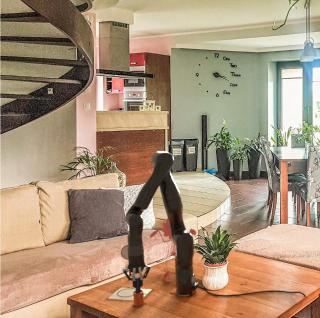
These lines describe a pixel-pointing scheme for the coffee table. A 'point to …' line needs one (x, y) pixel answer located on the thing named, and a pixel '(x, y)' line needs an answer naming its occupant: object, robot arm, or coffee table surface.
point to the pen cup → (138, 298)
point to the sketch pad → (127, 293)
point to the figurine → (167, 232)
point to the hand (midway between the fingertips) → (137, 286)
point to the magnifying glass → (125, 255)
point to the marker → (137, 284)
